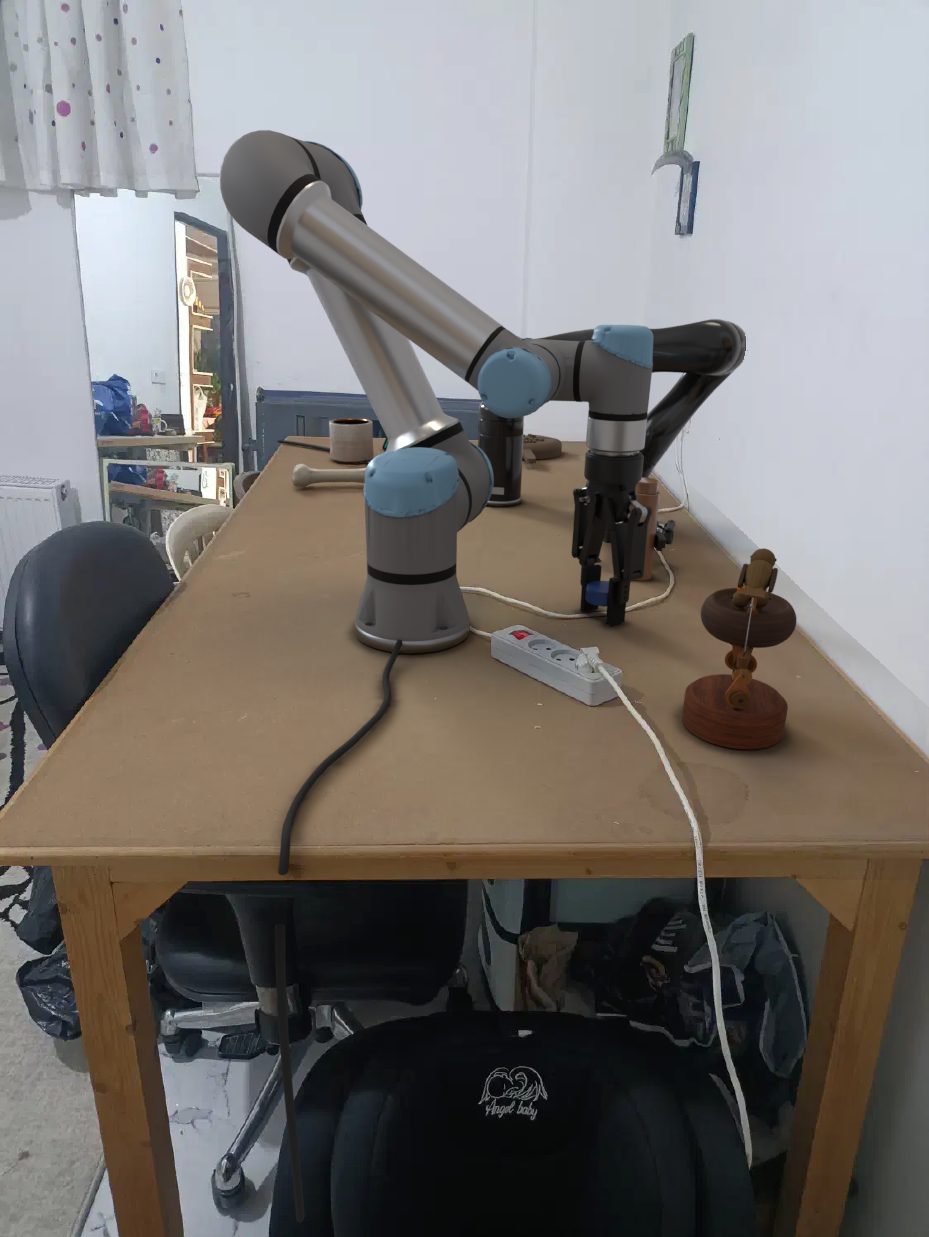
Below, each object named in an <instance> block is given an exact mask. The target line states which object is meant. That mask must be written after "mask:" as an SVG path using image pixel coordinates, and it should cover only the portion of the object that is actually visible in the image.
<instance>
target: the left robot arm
mask: <svg viewBox="0 0 929 1237" xmlns="http://www.w3.org/2000/svg"><path fill="white" fill-rule="evenodd" d="M219 188H220V189H219V190H220V193H221V198H222V201H223V203H224V205H225V209H226V210H227V211H228V213H229V215H230V216H231V217H232V219H233V220H234V221H235V223H237V224H238V225H239V227H241V228H242V229H243V230H245V232H247V233H248V234H249V235H251V236H252V237H254V238H255V239H257V240H258V241H259V242H261V243H262V244H264V245H265V246H266V247H268V248H269V249H271V250H272V252H275V253H276V254H277V255H278V256H280V257H282V258H283V259H285V260H286V261H287V263H288V265H289V267H290V268H291V269H292V270H293V271H295V272H298V273H301V274H303V275H305V276H306V277H307V278H308V279H309V282H310V284H311V286H312V288H313V290H314V292H315V294H316V296H317V297H318V300H319V302H320V304H321V307H322V308H323V310H324V312H325V314H326V316H327V318H328V320H329V322H330V325H331V327H332V328H333V330H334V332H335V335H336V336H337V338H338V341H339V342H340V344H341V347H342V349H343V351H344V353H345V355H346V357H347V359H348V361H349V363H350V365H351V367H352V369H353V371H354V373H355V375H356V377H357V379H358V382H359V383H360V385H361V387H362V390H363V391H364V393H365V396H366V397H367V399H368V402H369V404H370V406H371V408H372V410H373V412H374V414H375V415H376V418H377V420H378V422H379V424H380V426H381V428H382V430H383V432H384V435H385V436H386V437H387V438H388V446H387V449H386V450H385V452H382V453H380V454H378V455H376V456H375V457H373V459H372V460H370V462H369V464H366V465H367V466H366V467H367V468H366V467H365V468H366V471H365V483H363V489H362V493H363V499H364V520H365V545H366V546H365V548H366V549H365V550H366V579H365V584H364V586H363V589H362V592H361V596H360V600H359V602H358V606H357V609H356V612H355V617H354V633H355V636H356V638H357V639H358V640H359V641H360V642H362V643H363V644H365V645H367V646H368V647H371V648H374V649H377V650H380V651H384V652H390V656H389V658H388V660H387V662H386V664H385V666H384V669H383V673H382V677H381V678H382V680H381V683H382V690H383V700H382V702H381V705H380V707H379V708H378V710H377V711H376V713H374V715H373V716H372V717H371V718H370V719H369V720H368V721H367V722H366V723H365V724H364V725H363V726H362V727H361V728H360V729H359V730H358V731H356V733H355V734H354V735H352V736H351V737H350V738H349V739H348V740H347V741H346V742H344V743H343V744H342V745H341V746H339V747H338V748H337V749H335V750H334V751H333V752H332V753H331V754H329V756H327V757H326V758H325V759H324V760H322V762H321V763H320V764H319V765H318V766H317V767H316V768H315V769H314V770H313V772H312V773H311V774H310V775H309V777H307V779H306V780H305V781H304V783H303V784H302V786H301V787H300V788H299V790H298V792H297V793H296V794H295V796H294V798H293V800H292V802H291V804H290V807H289V809H288V811H287V813H286V816H285V819H284V821H283V824H282V829H281V838H280V850H279V861H278V869H277V873H278V875H280V876H284V875H287V873H288V872H289V868H290V867H289V865H290V856H291V842H292V831H293V826H294V822H295V820H296V817H297V814H298V812H299V810H300V807H301V805H302V803H303V801H304V799H305V798H306V796H307V794H308V793H309V791H310V790H311V789H312V787H313V786H314V784H315V783H316V782H317V781H318V780H319V779H320V777H321V776H322V775H323V774H324V773H325V771H326V770H327V769H328V768H330V767H331V765H332V764H334V763H335V762H336V761H337V760H338V759H340V758H341V757H342V756H344V754H346V753H347V752H348V751H349V750H351V749H352V748H353V747H354V746H356V745H357V744H358V743H359V741H361V740H362V738H364V736H366V735H367V734H368V732H370V731H371V730H372V729H373V728H374V727H375V726H376V725H377V724H378V723H379V721H380V720H381V719H382V718H383V717H384V715H385V714H386V712H387V711H388V709H389V706H390V704H391V700H392V691H391V687H390V686H391V685H390V676H391V672H392V669H393V666H394V665H395V662H396V660H397V657H398V655H399V654H425V653H433V652H439V651H443V650H446V649H449V648H452V647H455V646H457V645H458V644H460V643H462V642H463V641H464V640H466V639H467V637H468V636H469V634H470V615H469V612H468V608H467V606H466V601H465V599H464V596H463V593H462V589H461V586H460V583H459V581H458V577H457V561H458V560H457V559H458V558H457V557H458V556H457V554H458V552H457V551H458V533H459V532H460V531H461V530H462V529H464V527H466V526H467V525H468V524H469V523H471V522H473V521H474V520H475V519H476V518H478V516H480V515H481V513H482V512H483V511H484V510H485V508H486V506H487V505H486V504H487V502H488V501H489V499H490V496H491V494H492V490H493V484H494V476H493V470H492V466H491V463H490V461H489V459H488V457H487V456H486V454H485V453H484V452H483V451H482V450H481V449H480V448H479V447H478V444H476V443H474V442H472V441H470V440H469V438H468V436H467V433H466V432H465V429H464V427H463V425H462V423H461V421H460V419H459V418H456V417H453V416H450V415H448V414H447V413H445V412H444V410H443V408H442V406H441V404H440V402H439V400H438V398H437V396H436V393H435V391H434V390H433V388H432V386H431V383H430V381H429V378H428V377H427V375H426V373H425V370H424V368H423V366H422V364H421V362H420V360H419V357H418V355H417V353H416V351H415V350H414V347H413V345H412V343H413V344H415V346H417V347H418V348H420V349H421V350H423V351H424V352H426V353H427V354H428V355H429V356H431V357H432V358H434V360H436V361H438V362H439V363H441V365H443V366H444V367H446V368H447V369H449V371H451V372H453V373H454V374H455V375H457V376H458V377H459V378H460V379H462V380H463V381H465V382H466V383H467V384H468V385H470V386H471V387H472V388H474V389H475V390H476V391H477V392H478V395H479V398H480V400H481V402H482V401H483V403H484V404H485V406H486V407H487V408H488V409H489V410H490V411H491V412H493V413H494V414H496V415H498V416H500V417H504V418H517V417H521V416H524V417H526V416H529V415H532V414H534V413H536V412H537V411H538V410H539V409H540V408H542V407H543V406H544V405H545V404H547V403H548V402H576V403H588V413H587V424H586V437H585V446H586V447H587V448H588V450H587V451H586V452H585V455H584V456H585V458H584V473H583V476H584V478H585V480H586V481H587V480H588V481H589V484H588V486H587V487H586V486H585V487H578V488H573V491H572V495H573V502H574V510H573V511H574V512H573V527H572V541H571V557H572V558H573V559H577V560H578V564H579V565H580V566H581V567H580V580H579V582H580V586H581V592H580V607H579V611H580V612H582V613H587V612H591V611H595V610H599V607H600V606H596V605H593V604H590V603H588V602H587V601H586V600H585V594H586V587H587V584H588V583H590V582H593V581H602V580H601V579H602V567H603V566H602V565H601V564H599V563H602V561H603V560H602V559H601V558H599V557H600V555H601V550H602V547H603V543H604V541H603V539H604V536H605V532H606V528H607V530H609V531H610V538H611V543H610V547H611V560H612V570H613V576H612V577H609V578H608V581H609V589H608V601H607V607H606V613H605V614H606V615H605V625H607V626H614V625H617V624H622V623H623V624H624V623H625V621H626V610H627V603H628V602H629V599H630V590H631V583H632V582H631V581H635V580H634V579H639V578H642V577H643V572H644V561H645V549H646V537H647V526H648V522H649V519H650V517H651V514H652V509H651V507H649V506H647V507H643V506H642V505H641V504H640V503H638V502H637V495H636V485H637V484H638V482H639V481H640V480H641V479H642V471H643V460H644V456H643V455H642V453H641V452H639V451H640V450H642V449H643V448H644V446H645V435H646V424H647V414H648V413H649V402H650V393H651V385H652V374H653V373H652V367H653V363H652V360H653V333H652V331H651V330H650V329H651V328H649V327H648V326H646V325H640V324H639V325H637V324H599V325H596V326H595V327H594V328H593V329H594V334H593V337H592V340H587V341H562V340H543V339H537V338H532V337H525V338H523V337H520V336H518V335H516V334H515V333H513V332H512V331H511V330H509V329H507V328H506V327H504V326H503V325H502V324H501V323H500V322H498V321H497V320H496V319H495V318H493V317H492V316H491V315H489V314H488V313H487V312H485V311H484V310H482V309H481V308H480V307H479V306H477V305H476V304H474V303H473V302H472V301H470V300H468V299H467V298H466V297H464V295H463V294H461V293H459V292H458V291H456V289H454V288H452V287H451V286H450V285H448V284H447V283H446V282H444V281H443V280H442V279H440V278H439V277H438V276H436V275H435V274H433V273H432V272H430V271H429V270H428V269H427V268H426V267H424V266H423V265H422V264H420V263H419V262H417V261H416V260H414V258H412V257H411V256H409V255H408V254H406V253H405V252H404V251H402V250H401V249H400V248H398V247H397V246H396V245H394V244H393V243H391V242H390V241H389V240H388V239H386V238H385V237H384V236H382V235H381V234H379V233H378V232H377V231H375V230H374V229H372V228H371V227H370V226H369V225H368V223H367V220H366V219H365V216H364V213H363V211H362V207H363V204H364V203H363V200H364V199H363V191H362V186H361V183H360V181H359V178H358V176H357V174H356V172H355V171H354V169H353V167H352V166H351V165H350V163H349V162H348V161H347V160H346V159H345V158H344V157H343V156H341V155H340V154H339V153H337V152H335V151H334V150H333V149H332V148H330V147H328V146H326V145H324V144H322V143H318V142H315V141H311V140H310V141H309V140H302V139H298V138H295V137H292V136H290V135H286V134H285V133H282V132H278V131H274V130H271V129H270V130H269V129H265V130H264V129H260V130H256V131H255V130H254V131H250V132H248V133H246V134H243V135H241V136H240V137H239V138H238V139H236V140H235V141H234V142H233V143H232V144H231V145H230V146H229V148H228V149H227V151H226V152H225V154H224V156H223V159H222V162H221V165H220V170H219ZM517 336H518V337H517ZM519 337H520V338H522V339H520V338H519ZM411 342H412V343H411ZM622 521H623V522H622ZM616 522H622V523H617V524H615V523H616ZM274 926H275V927H274V941H275V942H274V945H275V954H274V955H275V986H276V988H275V989H276V1006H277V1024H278V1040H279V1051H280V1052H279V1053H280V1063H281V1064H280V1065H281V1074H282V1076H281V1077H282V1086H283V1097H284V1106H285V1107H284V1108H285V1116H286V1118H285V1119H286V1127H287V1135H288V1136H287V1138H288V1145H289V1146H288V1147H289V1155H290V1164H291V1172H292V1173H291V1174H292V1184H293V1185H292V1186H293V1194H294V1204H295V1205H294V1207H295V1216H296V1217H295V1218H296V1222H297V1221H298V1222H299V1223H301V1222H303V1220H304V1217H305V1218H306V1215H305V1214H306V1213H305V1203H304V1191H303V1190H304V1189H303V1180H302V1169H301V1159H300V1149H299V1138H298V1128H297V1119H296V1108H295V1099H294V1097H295V1096H294V1088H293V1087H294V1086H293V1085H294V1084H293V1075H292V1073H293V1072H292V1064H291V1063H292V1061H291V1050H290V1036H289V1034H290V1033H289V1019H288V1000H287V974H286V971H287V970H286V969H287V968H286V924H283V923H277V924H274Z"/></svg>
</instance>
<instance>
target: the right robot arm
mask: <svg viewBox="0 0 929 1237" xmlns="http://www.w3.org/2000/svg"><path fill="white" fill-rule="evenodd" d="M594 329H595V328H586V329H579V330H573V331H568V332H563V333H558V334H553V335H549V336H543V337H539V338H536V339H543V340H562V341H587V340H592V337H593V334H594ZM649 329H650V330H651V331H652V333H653V360H652V363H653V367H652V374H653V373H677V374H678V373H679V374H681V376H680V377H679V378H678V380H677V381H676V383H675V384H674V385H673V386H672V387H671V389H670V390H669V391H668V392H667V393H666V394H665V395H664V396H663V397H662V398H661V399H660V401H659V402H657V403H656V404H655V405H654V407H653V408H651V410H649V411H648V414H647V424H646V435H645V446H644V448H643V449H642V450H640V451H639V452H641V453H642V455H643V456H644V460H643V471H642V478H650V476H651V474H652V472H653V470H654V469H655V468H656V466H657V464H658V463H659V462H660V461H661V459H662V458H663V457H664V456H665V453H666V452H668V450H669V448H670V447H671V446H672V445H673V443H674V442H675V440H676V439H677V437H678V436H679V434H680V433H681V432H682V431H683V429H684V428H685V427H686V425H687V423H688V422H690V420H691V419H692V418H693V416H694V415H695V413H696V412H697V411H698V410H699V408H700V407H701V406H702V405H703V404H704V403H705V402H706V401H707V399H708V398H709V397H710V396H711V395H712V394H714V392H715V391H716V390H717V389H718V388H719V387H720V386H721V384H723V382H725V381H726V380H727V379H728V378H729V377H730V376H731V375H732V374H733V373H734V372H735V371H736V370H737V369H738V368H739V367H740V366H741V365H742V363H743V362H744V361H745V359H744V356H745V351H746V336H747V335H746V336H745V334H746V332H745V331H744V329H743V328H742V327H741V326H740V325H739V324H737V323H735V322H732V321H729V320H726V319H725V320H724V319H720V318H718V319H717V318H711V319H710V318H709V319H705V320H700V321H695V322H690V323H686V324H680V325H674V326H667V327H660V328H649ZM516 336H517V337H519V338H520V339H522V338H523V337H520V336H518V335H516ZM743 360H744V361H743ZM524 423H525V416H521V417H517V418H504V417H500V416H498V415H496V414H494V413H493V412H491V411H490V410H489V409H488V408H487V407H486V406H485V404H484V403H483V401H482V400H481V402H480V404H479V406H478V426H477V427H478V430H477V434H478V435H477V441H478V442H477V446H478V447H479V448H480V449H481V450H482V451H483V452H484V453H485V454H486V456H487V457H488V459H489V461H490V463H491V466H492V470H493V476H494V484H493V490H492V494H491V496H490V499H489V501H488V502H487V504H486V506H491V507H511V506H516V505H519V504H521V502H522V478H523V477H522V476H523V459H522V455H523V434H524V430H525V429H524ZM277 443H279V444H285V445H292V446H299V447H305V448H311V449H316V450H321V451H325V452H330V447H327V446H322V445H316V444H311V443H305V442H299V441H293V440H286V439H281V438H279V439H278V438H277ZM370 461H371V460H370ZM370 461H369V460H366V459H365V460H364V462H363V463H364V464H366V465H368V464H369V462H370ZM588 484H589V481H588V480H587V479H586V483H585V487H587V486H588ZM622 522H623V521H622ZM622 522H616V523H615V524H617V523H622ZM675 529H676V520H673V519H670V520H667V521H664V523H660V522H659V521H658V520H657V528H656V537H655V547H654V550H655V551H656V552H663V550H664V549H666V547H667V546H668V545H672V544H673V540H674V537H675ZM603 543H604V544H611V538H610V531H609V530H607V528H606V532H605V536H604V539H603ZM666 545H667V546H666Z"/></svg>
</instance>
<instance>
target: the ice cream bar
mask: <svg viewBox="0 0 929 1237" xmlns="http://www.w3.org/2000/svg"><path fill="white" fill-rule="evenodd" d="M562 452H563V443H562V441H561V440H560V439H558V438H555V437H552V436H551V437H550V436H545V435H540V434H532V433H528V434H525V433H523V455H522V460H524V461H525V463H526V464H536V461H537V460H546V459H554V458H557V457H560V456H561V455H562Z"/></svg>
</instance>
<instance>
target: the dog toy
mask: <svg viewBox="0 0 929 1237" xmlns="http://www.w3.org/2000/svg"><path fill="white" fill-rule="evenodd" d="M366 468H367V466H366V467H362V468H349V469H348V468H342V469H341V468H336V469H333V468H332V469H326V468H325V469H320V468H312V467H309V466H307V465H306V464H304V463H298V464H296V465H294V468H293V470H292V476H291V481H292V486H294V487H295V488H296V487H297V488H305V487H308V486H309V485H314V484H320V483H321V484H322V483H360V484H364V483H365V471H366Z"/></svg>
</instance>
